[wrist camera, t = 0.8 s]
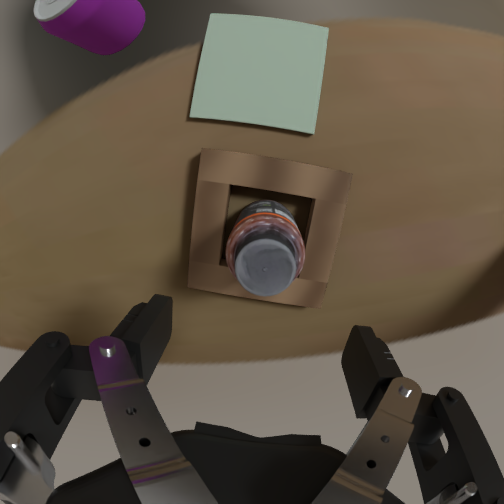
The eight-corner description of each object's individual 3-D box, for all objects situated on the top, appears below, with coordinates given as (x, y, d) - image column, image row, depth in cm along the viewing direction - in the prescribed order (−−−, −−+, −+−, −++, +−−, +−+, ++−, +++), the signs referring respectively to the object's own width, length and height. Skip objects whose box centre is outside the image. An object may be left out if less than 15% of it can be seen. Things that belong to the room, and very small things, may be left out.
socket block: (347, 172, 27) (352, 173, 25) (317, 299, 31) (320, 308, 30) (206, 148, 27) (201, 147, 25) (191, 279, 32) (187, 287, 30)
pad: (327, 30, 22) (328, 28, 22) (313, 134, 26) (314, 134, 25) (211, 15, 22) (210, 13, 22) (191, 117, 26) (189, 116, 26)
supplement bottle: (256, 266, 31) (249, 324, 20) (224, 218, 29) (199, 255, 18) (306, 237, 29) (326, 283, 19) (275, 186, 28) (279, 205, 17)
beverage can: (152, -3, 21) (106, -54, 10) (144, 50, 24) (86, 8, 12) (96, 12, 22) (39, -22, 10) (87, 64, 24) (19, 40, 13)
